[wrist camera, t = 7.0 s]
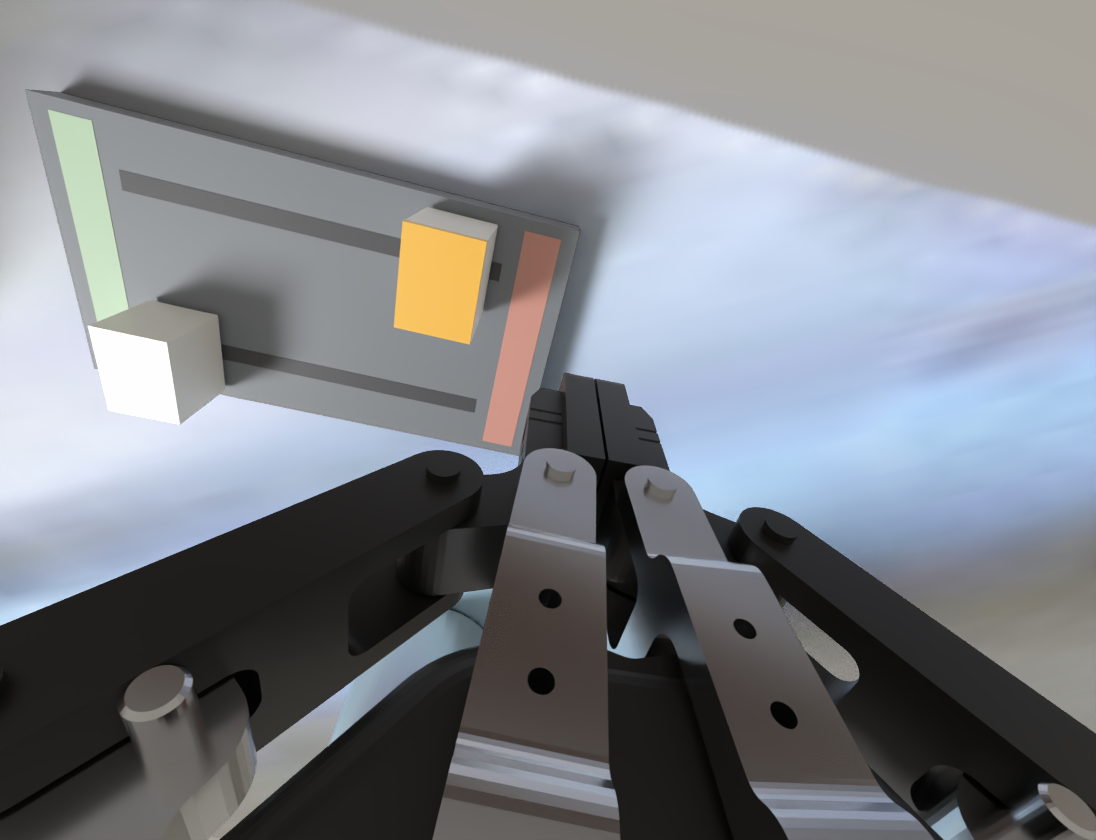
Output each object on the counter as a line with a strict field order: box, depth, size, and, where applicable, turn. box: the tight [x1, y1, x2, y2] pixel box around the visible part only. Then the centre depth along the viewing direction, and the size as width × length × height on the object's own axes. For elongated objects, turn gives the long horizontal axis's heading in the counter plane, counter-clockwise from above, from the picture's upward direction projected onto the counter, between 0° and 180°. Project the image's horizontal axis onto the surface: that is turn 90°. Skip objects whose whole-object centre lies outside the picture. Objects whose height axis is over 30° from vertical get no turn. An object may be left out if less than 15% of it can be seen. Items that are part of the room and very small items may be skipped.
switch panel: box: [25, 89, 580, 456], centre depth 24 cm, size 22×12×2 cm, turn 77°
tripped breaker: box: [394, 207, 498, 345], centre depth 20 cm, size 3×4×4 cm
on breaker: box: [88, 300, 225, 425], centre depth 22 cm, size 3×4×4 cm
